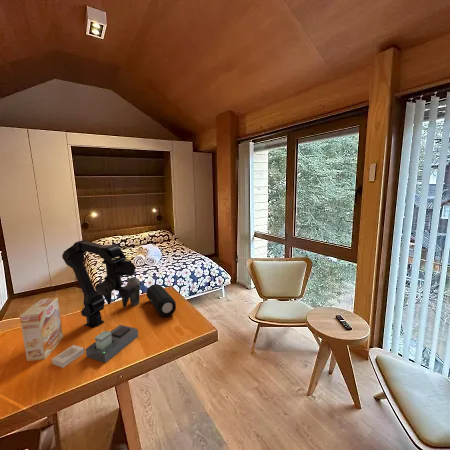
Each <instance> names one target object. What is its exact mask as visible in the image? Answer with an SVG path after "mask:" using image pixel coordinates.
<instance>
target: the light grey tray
mask: <svg viewBox="0 0 450 450" xmlns="http://www.w3.org/2000/svg"><path fill="white" fill-rule="evenodd" d="M84 354H86V351H85V347H82V346H78V345H75V344H72V345H71V346H69V347H68V348H67V349H65V350H62V352H60V353H59V354H57V355H55V356H54V357H53V358H51V364H52V365H55V366H57V367H59V368H63V369H64V368H65V367H66V366H68V365H70V364H71V363H72V362H73V361H75V360H76V359H78V358H79V357H81V356H82V355H84Z"/></svg>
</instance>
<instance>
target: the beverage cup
mask: <svg viewBox="0 0 450 450" xmlns="http://www.w3.org/2000/svg"><path fill="white" fill-rule="evenodd" d="M126 285H133V286H135V292H133V293H132V294H131V296H130V298H129V300H130V305H131V306H138V305H139V304H140V299H141V298H140V294H141V293H140V291H141V289H140V288H141V281H140V280H139V278H138V277H133V276H131V277H130V278H128V280H127V283H126Z"/></svg>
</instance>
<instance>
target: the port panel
mask: <svg viewBox="0 0 450 450" xmlns="http://www.w3.org/2000/svg"><path fill="white" fill-rule="evenodd" d="M109 332H111V338H112V344H111V345H109V346H108V347H107V348H105V349H104V350H103V351H101V350H98V349H96V341H95V342H94V343H91V344H90V345H89V346H87V347H86V348H85V356H86V358H89V359H92V360H95V361H97V362H100V363H104V364H106V363H108V362H109V361H110V360H111V359H113V358H114V357H115V356H116V355H118V354H119V353H120V352H121V351H122V350H124V349H125V348H126V347H127V346H128V345H130V344H131V343H132V342H133V341H134V340H136V339H137V338H139V330H138V328H135V327H130V326H128V325H123V324H119V325H117V326H116V327H115V328H114V329H112V330H110V331H109Z"/></svg>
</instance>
